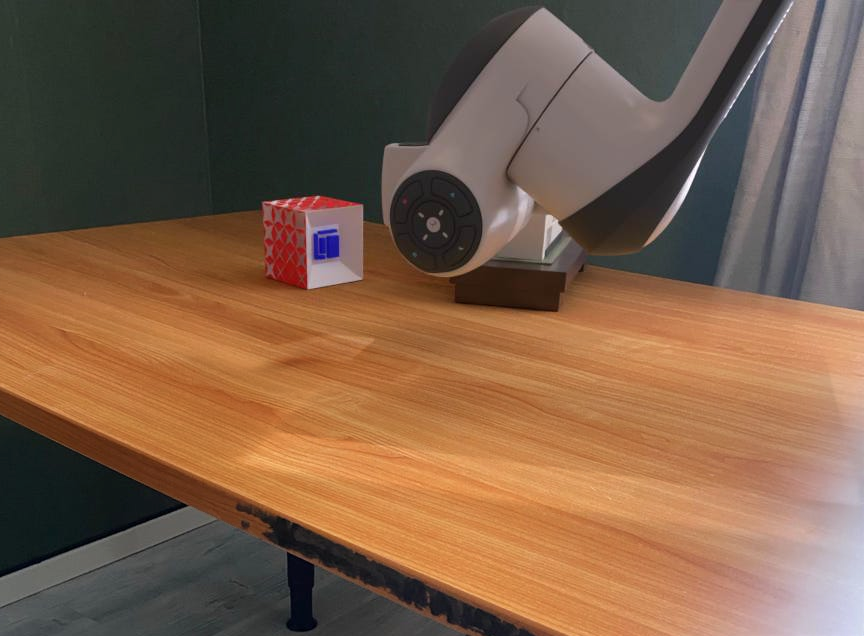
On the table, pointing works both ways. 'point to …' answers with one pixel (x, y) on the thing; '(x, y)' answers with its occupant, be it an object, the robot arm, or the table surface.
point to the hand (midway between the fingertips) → (513, 171)
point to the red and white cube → (313, 241)
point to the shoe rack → (523, 279)
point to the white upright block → (534, 239)
